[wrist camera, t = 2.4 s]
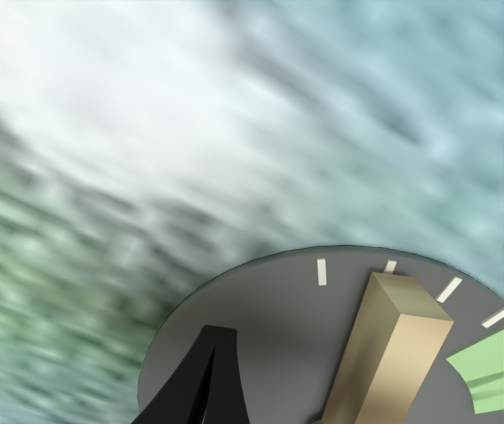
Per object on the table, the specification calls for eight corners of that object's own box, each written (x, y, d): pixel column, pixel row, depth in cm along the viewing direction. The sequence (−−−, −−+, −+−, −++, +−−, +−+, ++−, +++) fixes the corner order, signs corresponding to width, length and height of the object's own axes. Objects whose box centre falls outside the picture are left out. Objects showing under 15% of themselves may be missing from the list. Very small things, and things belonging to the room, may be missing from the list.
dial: (441, 528, 18) (449, 548, 17) (149, 483, 18) (143, 501, 17) (637, 282, 10) (670, 297, 9) (136, 214, 11) (125, 222, 10)
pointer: (351, 455, 14) (368, 522, 11) (300, 447, 14) (306, 512, 11) (430, 279, 10) (479, 329, 7) (356, 269, 10) (383, 316, 7)
